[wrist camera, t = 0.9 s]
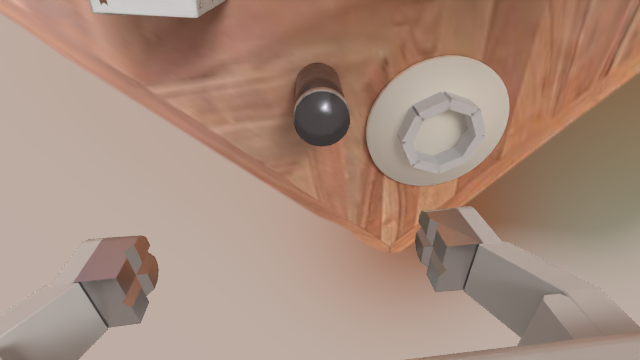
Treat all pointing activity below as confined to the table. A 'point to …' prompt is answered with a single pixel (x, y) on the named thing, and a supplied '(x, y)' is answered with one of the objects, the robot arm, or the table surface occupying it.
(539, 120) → the table surface
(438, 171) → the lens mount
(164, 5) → the supplement box
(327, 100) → the lens
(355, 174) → the table surface
